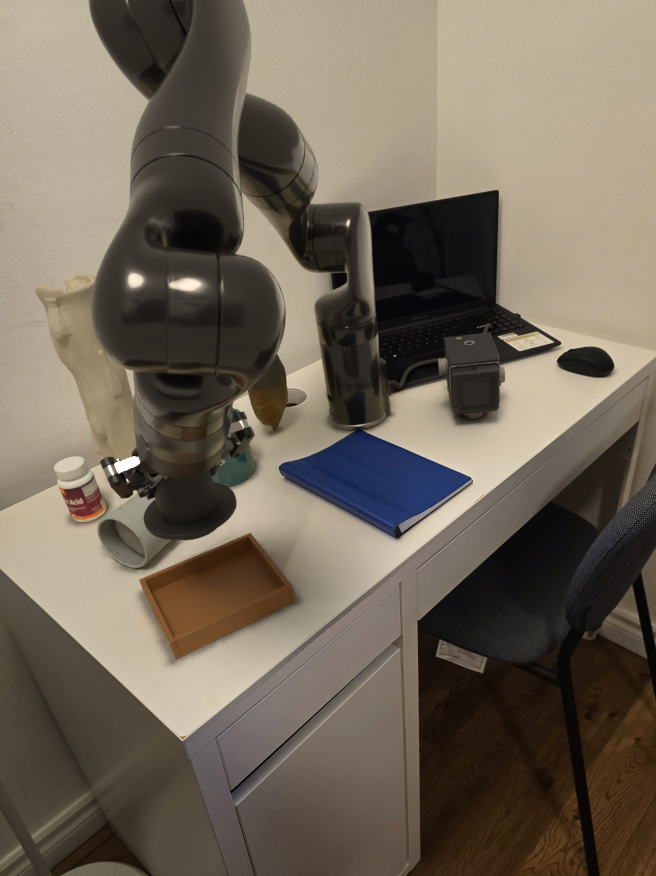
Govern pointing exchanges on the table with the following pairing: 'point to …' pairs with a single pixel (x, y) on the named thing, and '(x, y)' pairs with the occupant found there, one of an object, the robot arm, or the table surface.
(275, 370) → the decorative stone
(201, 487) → the flanged dark cylinder
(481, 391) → the camera
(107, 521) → the ceramic mug
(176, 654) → the tray
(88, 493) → the pill bottle
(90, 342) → the vase
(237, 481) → the cup
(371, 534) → the table surface
